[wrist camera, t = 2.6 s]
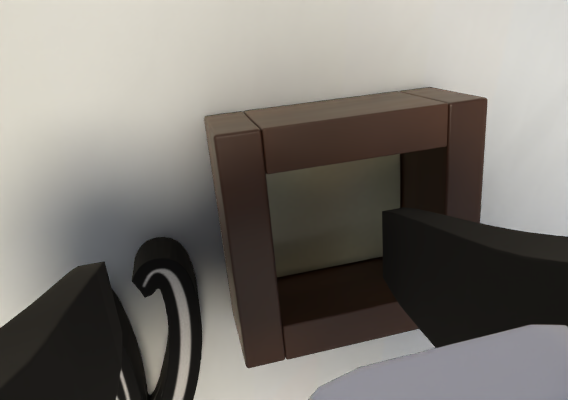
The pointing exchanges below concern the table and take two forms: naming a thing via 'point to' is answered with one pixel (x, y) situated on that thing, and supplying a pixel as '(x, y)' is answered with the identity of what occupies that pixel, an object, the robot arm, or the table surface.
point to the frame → (333, 209)
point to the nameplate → (181, 319)
